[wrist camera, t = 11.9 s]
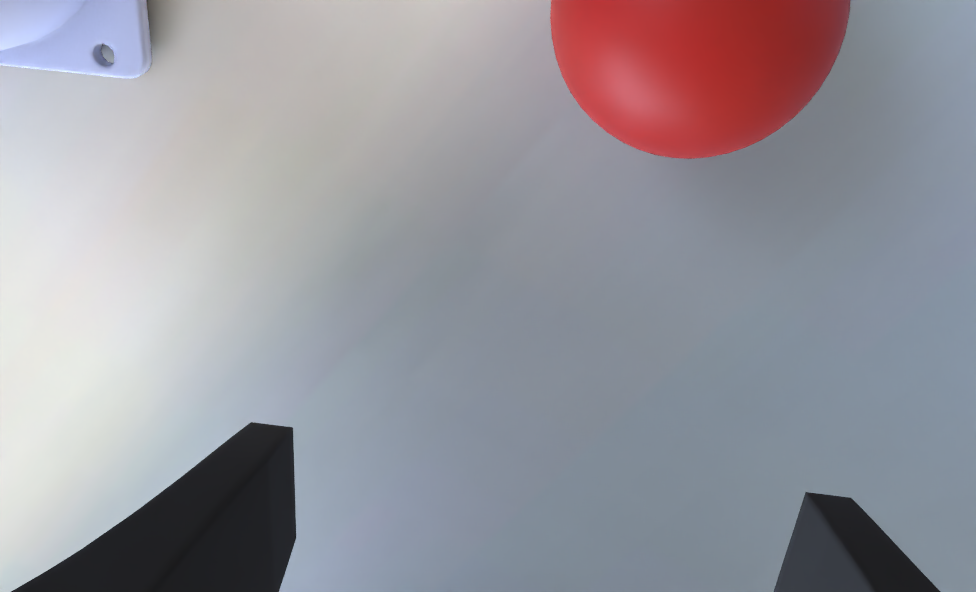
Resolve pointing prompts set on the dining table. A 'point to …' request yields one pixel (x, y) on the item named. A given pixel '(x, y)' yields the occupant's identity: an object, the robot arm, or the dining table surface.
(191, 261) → the dining table surface
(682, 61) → the red ball
